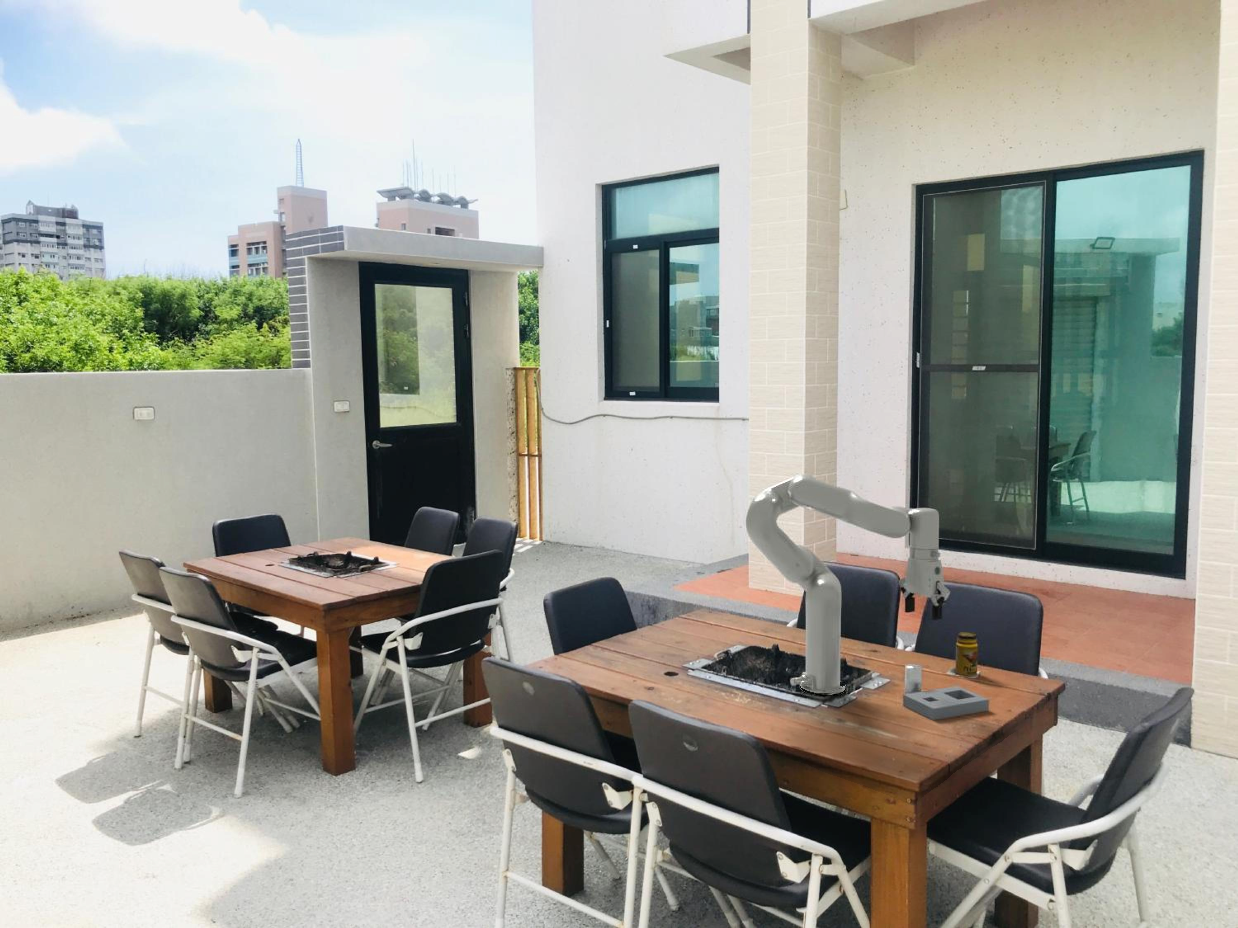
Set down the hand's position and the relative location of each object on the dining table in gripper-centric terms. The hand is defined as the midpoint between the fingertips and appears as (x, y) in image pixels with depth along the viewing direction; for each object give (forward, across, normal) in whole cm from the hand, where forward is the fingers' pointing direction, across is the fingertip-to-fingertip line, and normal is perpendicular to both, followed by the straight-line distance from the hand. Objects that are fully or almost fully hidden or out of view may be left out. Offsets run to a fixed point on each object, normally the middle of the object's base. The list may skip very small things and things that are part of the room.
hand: (923, 615), depth 265 cm
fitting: (+22, +2, +2) cm, 23 cm away
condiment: (+23, +8, -25) cm, 35 cm away
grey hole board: (+22, -10, +2) cm, 25 cm away
